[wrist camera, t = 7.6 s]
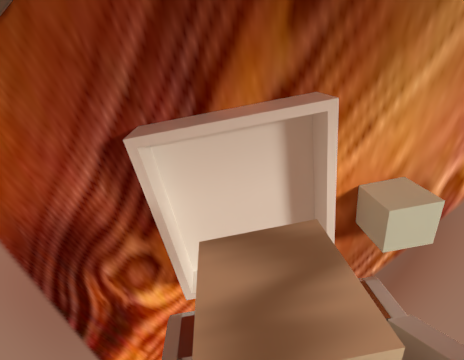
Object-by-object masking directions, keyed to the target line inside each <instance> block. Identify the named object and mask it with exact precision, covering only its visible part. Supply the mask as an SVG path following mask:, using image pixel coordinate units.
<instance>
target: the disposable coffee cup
mask: <svg viewBox="0 0 464 360" xmlns="http://www.w3.org/2000/svg"><path fill="white" fill-rule="evenodd" d="M12 1H13V0H0V16H1V14H2V13H3V12H4V11H5V10H6V8H7V7H8V6H9V5H10V3H11V2H12Z"/></svg>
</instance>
